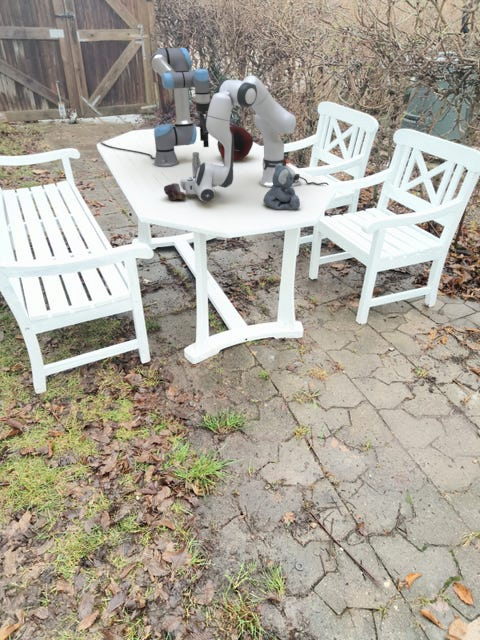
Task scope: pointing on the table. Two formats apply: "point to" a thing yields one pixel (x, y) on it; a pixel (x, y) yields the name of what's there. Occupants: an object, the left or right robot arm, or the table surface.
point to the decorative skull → (238, 143)
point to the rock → (174, 191)
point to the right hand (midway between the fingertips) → (197, 178)
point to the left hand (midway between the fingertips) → (204, 143)
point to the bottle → (195, 163)
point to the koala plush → (282, 190)
